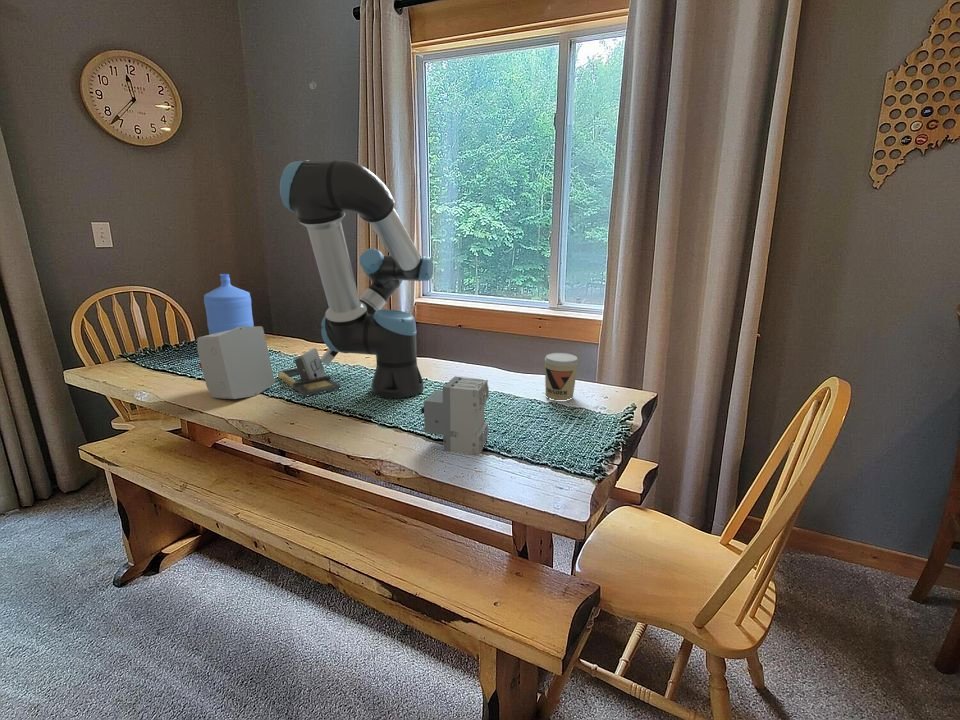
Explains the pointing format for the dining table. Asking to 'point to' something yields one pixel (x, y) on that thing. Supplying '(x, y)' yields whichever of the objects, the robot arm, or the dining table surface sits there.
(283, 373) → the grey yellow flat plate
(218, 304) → the water jug
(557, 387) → the coffee cup
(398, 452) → the dining table surface
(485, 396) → the circuit breaker
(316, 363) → the electrical switch
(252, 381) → the electrical switch box
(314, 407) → the dining table surface
